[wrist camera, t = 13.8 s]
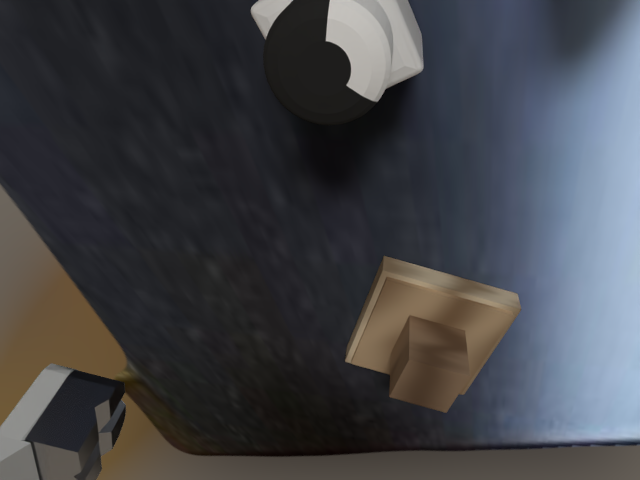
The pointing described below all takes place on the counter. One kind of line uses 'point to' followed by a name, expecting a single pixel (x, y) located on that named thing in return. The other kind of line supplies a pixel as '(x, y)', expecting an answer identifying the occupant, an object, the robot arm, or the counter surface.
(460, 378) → the cube
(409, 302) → the square wooden base
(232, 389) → the counter surface
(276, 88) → the medicine bottle
